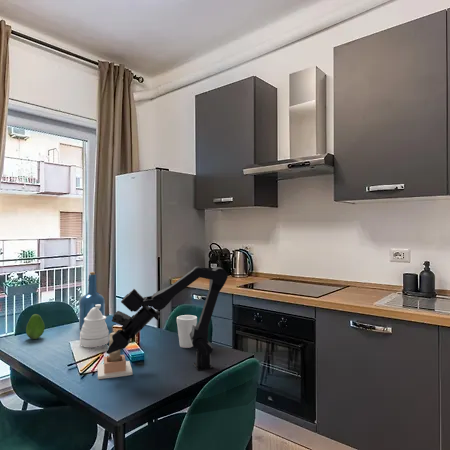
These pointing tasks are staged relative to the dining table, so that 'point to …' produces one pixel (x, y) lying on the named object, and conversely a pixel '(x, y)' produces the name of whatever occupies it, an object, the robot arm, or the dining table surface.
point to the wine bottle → (90, 300)
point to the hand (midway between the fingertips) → (111, 348)
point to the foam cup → (185, 329)
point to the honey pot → (94, 329)
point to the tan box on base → (114, 368)
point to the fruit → (35, 327)
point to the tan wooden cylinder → (114, 355)
